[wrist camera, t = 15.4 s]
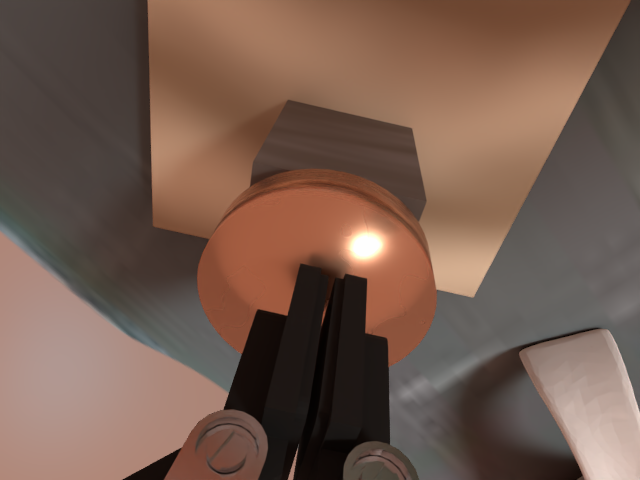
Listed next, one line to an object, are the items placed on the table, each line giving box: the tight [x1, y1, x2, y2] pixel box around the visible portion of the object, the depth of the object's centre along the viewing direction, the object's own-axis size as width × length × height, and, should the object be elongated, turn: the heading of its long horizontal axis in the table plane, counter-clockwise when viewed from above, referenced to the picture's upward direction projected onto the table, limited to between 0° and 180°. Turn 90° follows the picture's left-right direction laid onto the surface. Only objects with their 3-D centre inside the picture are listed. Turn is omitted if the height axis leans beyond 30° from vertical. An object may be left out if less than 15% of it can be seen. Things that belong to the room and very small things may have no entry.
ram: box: [197, 169, 437, 366], centre depth 15 cm, size 6×6×7 cm
